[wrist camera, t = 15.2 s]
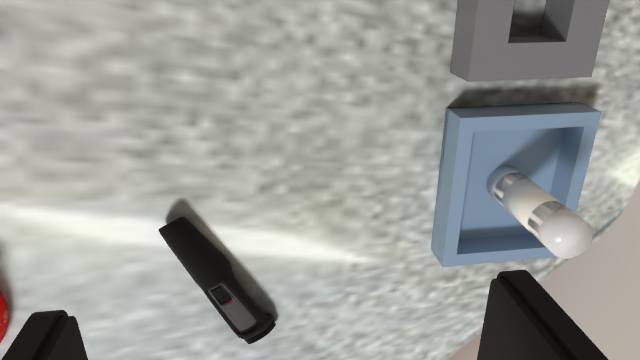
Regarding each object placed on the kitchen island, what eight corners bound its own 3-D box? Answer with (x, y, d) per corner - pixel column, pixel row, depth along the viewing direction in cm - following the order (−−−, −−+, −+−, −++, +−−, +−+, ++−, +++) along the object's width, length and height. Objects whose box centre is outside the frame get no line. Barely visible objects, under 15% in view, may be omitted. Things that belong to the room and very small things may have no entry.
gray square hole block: (465, -67, 34) (486, -70, 31) (591, -66, 35) (625, -70, 32) (450, 72, 38) (468, 81, 35) (563, 68, 39) (591, 77, 36)
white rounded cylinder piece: (489, 166, 41) (555, 221, 32) (522, 164, 42) (597, 218, 33) (484, 198, 43) (546, 260, 34) (516, 196, 43) (587, 256, 34)
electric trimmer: (189, 199, 40) (183, 216, 37) (278, 318, 46) (280, 341, 43) (152, 219, 40) (143, 238, 37) (246, 335, 47) (245, 359, 44)
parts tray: (446, 108, 39) (460, 118, 36) (578, 102, 40) (601, 111, 38) (430, 249, 45) (442, 266, 42) (546, 239, 46) (565, 256, 44)
